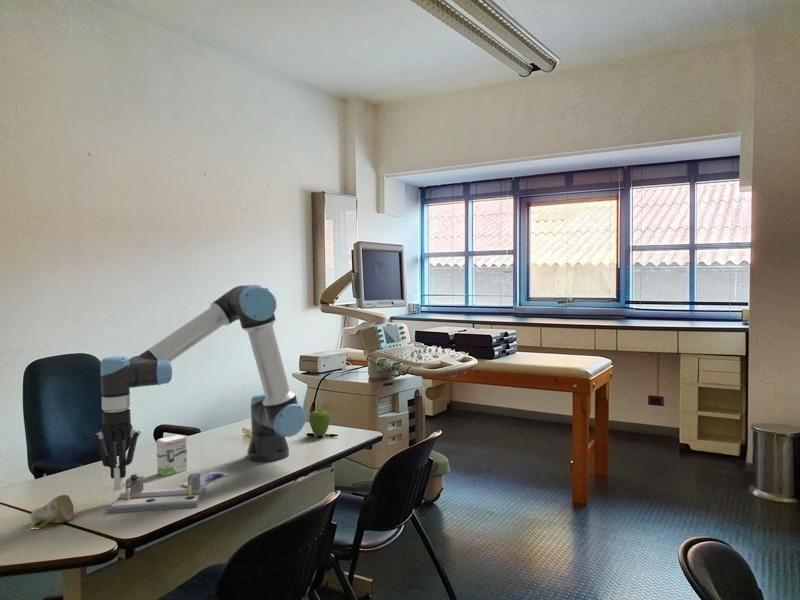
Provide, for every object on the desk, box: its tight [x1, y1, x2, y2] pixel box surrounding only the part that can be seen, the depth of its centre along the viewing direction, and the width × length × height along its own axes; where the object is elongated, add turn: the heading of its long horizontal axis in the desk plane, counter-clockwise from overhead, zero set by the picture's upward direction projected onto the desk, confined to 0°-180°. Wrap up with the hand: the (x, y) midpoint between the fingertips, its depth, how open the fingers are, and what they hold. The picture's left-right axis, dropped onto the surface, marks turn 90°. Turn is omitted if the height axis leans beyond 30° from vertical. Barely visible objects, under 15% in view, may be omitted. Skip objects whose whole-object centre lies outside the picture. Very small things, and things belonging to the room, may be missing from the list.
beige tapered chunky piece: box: [30, 494, 74, 530], centre depth 156 cm, size 8×10×10 cm
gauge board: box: [107, 473, 207, 514], centre depth 170 cm, size 24×13×6 cm, turn 98°
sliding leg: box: [125, 473, 145, 501], centre depth 169 cm, size 4×8×5 cm, turn 8°
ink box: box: [156, 434, 188, 477], centre depth 197 cm, size 9×5×12 cm, turn 141°
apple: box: [308, 409, 331, 437], centre depth 241 cm, size 9×8×12 cm
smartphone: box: [180, 470, 230, 488], centre depth 188 cm, size 7×1×15 cm
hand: (118, 488), depth 171 cm, fingers closed
